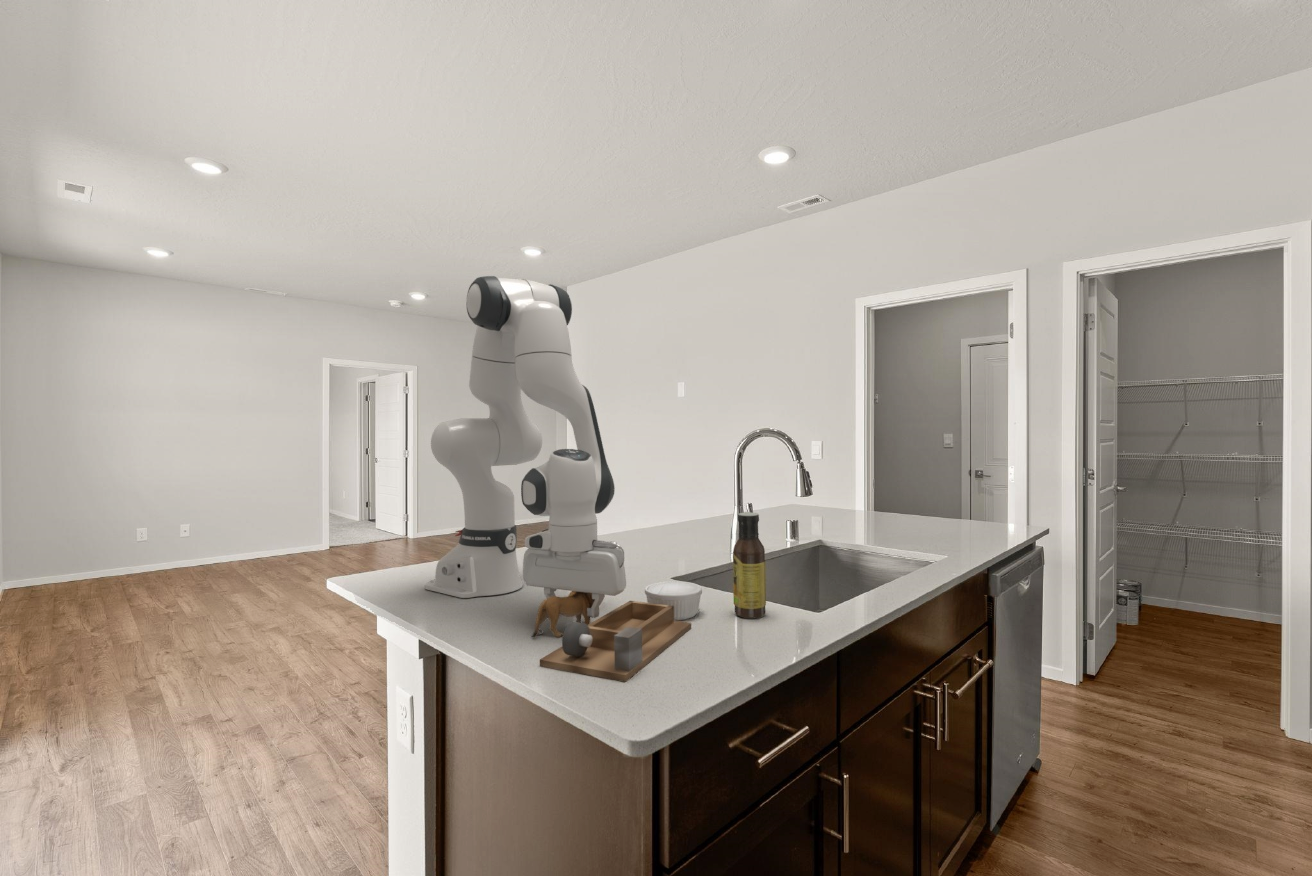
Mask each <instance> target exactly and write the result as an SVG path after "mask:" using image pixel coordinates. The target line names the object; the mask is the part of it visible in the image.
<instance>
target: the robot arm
mask: <svg viewBox="0 0 1312 876" xmlns="http://www.w3.org/2000/svg"><path fill="white" fill-rule="evenodd" d="M466 311H467V315H468V317H469V319H470V320H471V321H472V323H473V324H474V325H475V326H476V332H475V333H474V338H473V339H474V340H473V345H472V353H471V360H470V371H469V373H470V374H469V383H468V387H469V390H470V392H471V395H473V396H474V397H475V398H476V399H477V400H478V401H480V402H481V403H484V404H485V405H486V406H488V409H489V417H487V418H477V417H475V418H467V417H466V418H457V419H456V418H455V419H451V420H446V421H442V422H440V423H439V424H438V425H436V427H435V429H434V431H433V432H432V434H431V438H430V449H431V453H432V454H433V457H434V458H435V460H436V462H438V463H439V464H440V465H441V466H443V467H444V468H446V469H447V470H448V471H449V472H450V473H451V474H452V475H453V476H454V478H455V479H456V481H457V483H458V485H459V487H460V490H461V493H462V499H463V509H464V510H463V512H464V527H463V528H462V529H460V530H456V531H455V533H457V534H455V537H459V536H460V537H459V540H458V544H456V546H454V547H453V548H452V549H451V550H449V551H448V552H447V553H446V554H445V555H444V556H442V557H441V558H440V559H439V560H438V562H437V564H436V569H435V577H434V579H432V580H429V581H427V582H426V583H425V584H424V589H425V590H428V591H433V592H436V593H441V594H445V595H449V596H451V597H452V596H453V597H457V598H460V599H468V598H475V597H485V596H497V595H503V594H508V593H513V592H515V591H517V590H520V589H522V587H523V582H522V579H523V581H524V583H525V584H526V586H528V587H538V588H543V594H544V597H545V599H547V598H549V597H553V596H556V593H555V592H556V591H557V590H561V591H570V592H572V591H577V592H585V593H592V599H595V601H594V603H593V605H592V606H590V607H588V608H587V612H588V614H587V616H588V617H590V618H593V619H597V618H599V616H600V606H601V604H602V602H603V600H604V598H605V596H613V597H615V596H618V595H620V594H621V593H623V592H624V591H625V589H626V588H627V577H626V568H625V550H624V549H623V548H622V546H621V545H620V544H618V542H615V541H605V540H598V519H597V514H601V513H602V512H604V511H605V509H607V508H608V506H610V504H611V502H612V500H613V498H614V495H615V490H616V489H615V488H616V487H615V481H614V479H613V475H612V473H611V470H610V468H609V465H608V462H607V459H606V454H605V451H604V450H605V449H604V445H603V441H602V435H601V432H600V428H599V427H600V426H599V424H598V418H597V413H596V410H595V407H594V403H593V402H594V401H593V399H592V395H591V392H590V390H589V389H588V388H587V387H586V386H585V385H584V384H582V383H581V381H580V379H579V377H578V376H577V374H576V371H575V368H574V364H573V357H572V346H571V337H570V334H569V333H570V332H569V329H568V326H569V324H570V321H571V318H572V313H573V304H572V301H571V298H570V295H569V293H568V292H567V291H566V290H565V289H563V288H561V287H559V286H556V285H555V284H546V283H542V282H539V281H536V280H531V279H526V278H525V279H524V278H522V279H517V278H510V277H497V276H495V275H487V276H479V277H476V278H475V279H474V280H473V281H472V282H471V284H470V285H469V287H468V290H467V295H466ZM521 391H522V392H523V393H524V395H526V396H527V397H528V398H529V399H531V400H532V401H533V402H535V403H537V404H539V405H541V406H544V407H547V408H549V409H551V410H553V411H555V412H557V413H559V414H561V415H563V416H564V417H565V418H566V419H567V420H568V421H569V424H570V425H571V427H572V431H573V435H574V439H575V444H576V448H577V449H574V448H562V449H555V450H554V451H552V452H551V453H550V455H549V458H548V460H547V461H546V462H545V463H543V464H542V465H539V466H537V467H533V468H531V469H530V470H529V471H528V472H527V473H526V474H525V475H524V477H523V479H522V481H521V484H520V486H521V487H520V488H521V490H520V491H521V492H520V493H521V495H520V496H521V503H522V505H523V506H524V507H525V508H526V509H527V511H528V512H530V513H531V514H533V515H534V516H539V517H547V516H548V517H549V519H548V528H547V529H544V530H542V531H540V532H537V533H534V534H531V535H530V534H529V535H527V536H526V537H525V539H524V545H525V547H526V548H527V549H526V550H525V551H524V555H523V561H522V579H521V574H520V571H519V564H518V558H517V550H516V549H517V548H516V547H517V541H518V538H517V537H518V536H517V535H518V534H517V533H518V532H517V525H516V524H515V495H514V492H513V491H512V489H511V488H510V487H508V486H507V485H506V484H504V483H502V482H500V481H498V480H496V478H494V475H493V473H492V467H498V466H501V467H503V466H518V465H521V464H526V463H527V462H531V461H534V460H535V459H536V458H538V456H539V455H540V452H541V449H542V446H543V436H542V433H541V430H540V429H539V427H538V426H537V424H536V423H535V422H533V421H532V420H531V418H530V417H529V415H528V414H527V413H526V410H525V408H524V405H523V402H522V393H521ZM556 597H557V596H556Z"/></svg>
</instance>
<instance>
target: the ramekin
mask: <svg viewBox="0 0 1312 876" xmlns="http://www.w3.org/2000/svg"><path fill="white" fill-rule="evenodd" d="M702 593H703V588H702V586H701V585H700V584H697V583H694V582H689V581H684V580H683V581H682V580H681V581H680V580H669V581H660V582H653V583H651V584H648V585H647V586H646V587H645V588H644V594H645V596H646V601H647V602H646V603H654V604H662V605H670V606H674V620H675V621H683V620H689V619H691V618H693V617H695V616H696V615H697V613H698V612H699V609H700V602H701V595H702Z"/></svg>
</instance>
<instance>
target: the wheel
mask: <svg viewBox="0 0 1312 876" xmlns="http://www.w3.org/2000/svg"><path fill="white" fill-rule="evenodd" d="M561 638H562V640H561V644H562V645H561V647H562V648H563V651H564V653H565V654H567V655H572V656H578V657H580V656H582V655H584V653H585V652H586V650H587V648H588V647H590V646H591V644H592V636H591V635H590V630H589V627H588V625H587V624H585V623H584V622H583V623H582V622H581V623H578V622H576V621H571V622H570V623H568V624H567V625H566V627H565V628H564V632H563V633H562V637H561Z"/></svg>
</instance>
